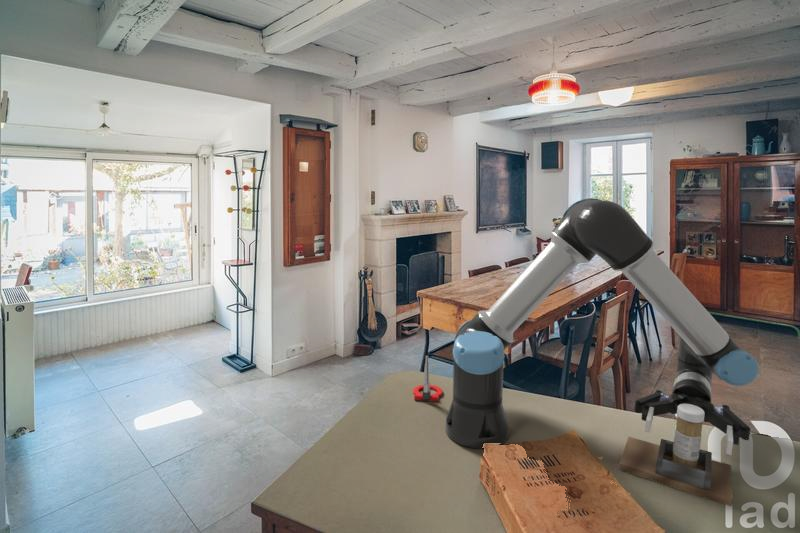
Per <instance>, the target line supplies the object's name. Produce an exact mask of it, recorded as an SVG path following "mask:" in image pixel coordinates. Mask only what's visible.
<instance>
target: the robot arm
mask: <svg viewBox="0 0 800 533" xmlns="http://www.w3.org/2000/svg"><path fill="white" fill-rule="evenodd" d="M550 238H551V239H550V242H549V243H548V244H547V245H546V246H545V247H544V248H543V250H541V251H540V253H539V254H538V255H537V256H536V257H535V258H534V260H532V262H531V263H530V264H529V265H528V266H527V267H526V268H525V269H524V270H523V271H522V272H521V273H520V275H518V277H517V278H516V279H515V280H514V281H513V282H512V283H511V285H510V286H509V287H508V288H507V289H506V290H505V291H504V292H503V294H501V296H499V297H498V299H497V300H496V301H495V302H494V303H493V304H492V305H491V307H489V308H488V309H485V310H479V311H478V312H477V313H476V314H475V315H474V316H473V317H472V319H469V320H466V321H465V322H464V323H463V324H461V325H460V327H459V328H458V330H457V332H456V334H455V337H454V342H453V348H452V357H453V369H452V370H453V374H452V376H453V378H452V381H453V382H452V383H453V385H452V387H453V388H452V389H453V390H452V401H451V403H450V406H449V410H448V413H447V415H446V417H445V433H446V435H447V436H448V437H449V438H450V439H451V440H452V441H453V442H455V443H457V444H458V445H461V446H464V447H466V448H471V449H481V450H482V447H483V444H484V443H503V444H504V443H505V442H506V441H507V440H508V439H509V436H510V435H509V434H510V433H509V432H510V424H509V421H508V417H507V415H506V412H505V409H504V404H503V393H504V392H503V388H504V385H503V384H504V361H505V355H506V354H505V351H506V349H508V347H510V345H512V344H513V342H514V332H515V331H516V330H518V328H519V327H520V326H521V325H522V324H523V323H524V322H525V321H526V320H527V319H528V318H529V317H530V315H531V314H532V313H533V312H534V311H535V310H537V308H538V307H539V306H540V305H541V304H542V303H543V302H544V301H545V300H546V299H547V297H549V295H551V293H552V292H553V291H554V290H555V289H556V288H557V287H558V286H559V285H560V284H561V283H562V282H563V280H565V279H566V278H567V277H568V275H570V273H571V272H573V270H574V269H575V268H576V267H577V266H578V265H580V264H587V263H589V262H590V261H592V259H594V257H595V256H596V255H597V256H598V257H600V258H601V259H602V260H603V261H605V263H607V264H608V265H609V266H610V268H611V269H612V270H613V271H615V272H622V274H623V275H624V276H625V277H626V278H627V279H628V280H629V282H631V283H632V285H633V286H634V287H635V288H636V289H637V290H638V291H639V293H641V295H642V296H643V297H644V298H645V300H647V301H648V302H649V304H650V305H651V306H652V307H653V309H655V310H656V312H658V313H659V314H660V316H661V317H662V318H663V319H664V320H665V321H666V322H667V324H669V325H670V327H671V328H672V329H673V330H674V331H675V332H676V333H677V334H678V335H679V345H678V355H677V361H676V370H675V376H674V377H675V378H674V381H673V388H672V393H671V394H670V395H666V394H664V393H663V391H662V390H660V389H657V390H655V392H653V393H651V394H649V395H646V396H643V397H641V398H638V399H636V400H635V401H634V402H635V403H634V412H635V414H636V413H637V414H640V413H641V417H640V418H641V420H642V421H644V422H645V428H644V432H645V433H648V434H649V433H650V431H651V428H652V424H653V420H654V418H653V417H654V416H659V415H665V414H671V415H677V407H678V405H680V404H691V405H695V406H698V407H700V408H701V409H703V410H704V412H705V415H704V421H703V423H709V424H711V425H712V426H714V427H715V428H717V429H718V430H720V431H721V432H723V433H724V434H725V448H726V449H725V452H726V455H729V456H732V453H733V446H734V445H735V446H739V444H740V439H742V440H743V441H749V440H750V436H751V427H750V426H749V425H748V424H747V423H745V421H743V420H742V419H741V418H740V417H738V416H737V415H736V414H735V413H734V412H733V411H732V410H731V408H730V406H729V405H726V404H723V405H722V406H719V407H718V406H714V404H713V403H712V383H713V382H712V381H713V374H714V375H715V376H717V378H718V379H719V380H721V381H724V382H725V383H727V384H728V385H731V386H735V387H737V386H738V387H739V386H740V387H741V386H746V385H749V384H750V383H752V382H753V381H755V379H756V378H757V377H758V375H759V371H760V366H759V363H758V361H757V359H756V358H755V357H754V356H753V355H751V354H750V352H748V351H746V350H744V349H742V348H741V347H740V346H739V345H738V344H737V342H736V341H734V339H733V338H732V337H731V336H730V335H729V334H728V332H727V331H726V330H725V329H724V328H723V326H721V324H720V323H719V322H718V321H717V320H716V319H715V317H713V315H712V314H711V313H710V312H709V310H707V309H706V308H705V307H704V306H703V305H702V303H701V302H700V301H699V300H698V299H697V297H695V295H694V294H693V293H692V292H691V291H690V290H689V288H687V286H686V285H685V284H684V283H683V282H682V281H681V280H680V278H679V277H678V276H677V275H676V274H675V273H674V272H673V270H671V268H670V267H669V266H668V265H667V264H666V263H665V262H664V260H662V258H661V257H660V255H658V254H657V253H656V252H655V250H654V249H653V248H654V241H652V239H651V238H650V237H649V236H648V235H647V233H646V232H645V231H644V229H643V228H642V227H641V226H640V225H639V224H638V222H637V221H636V220H635V219H634V217H633V216H631V214H630V213H629V212H628V211H627V210H626V209H625V208H624V207H623V206H622V205H620V204H618V203H617V202H614V201H612V200H604V199H599V198H594V197H590V198H589V197H588V198H583V199H580V200H577V201H575V202H573V203H572V204H570V205H569V207H567V208H566V209H565V211H564V213H563V215H562V217H561V220H560V221H559V223H558V224H556V225H555V227H554V228H553V229H552V231H551V232H550Z"/></svg>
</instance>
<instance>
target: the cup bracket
mask: <svg viewBox="0 0 800 533" xmlns="http://www.w3.org/2000/svg"><path fill="white" fill-rule="evenodd" d="M673 445H674V441H671V440H667V439H664V438H661V439H660V443H659V444H657V443H652V442H649V441H646V440H642V439H638V438H635V437H632V436H627V440H626V442H625V446H624V449H623V452H622V455H621V458H620V460H619V465H618V470H619V471H621V470H623V471H622V472H624V471H626V472H625V473H627V472H629V473H628V474H631V475H634V476H638V477H640V478H643V479H646V478H647V479H646V480H649V479H650V480H649V481H652V480H653V482H655V481H657V482H656V483H658V482H660V483H659V484H662V483H663V484H662V485H665V484H666V485H665V486H668V487H671V486H672V487H671V488H675V489H677V490H681V491H684V492H687V493H689V494H693V495H696V496H700V497H702V498H704V499H709V500H711V501H715V502H718V503H719V504H720V503H721V504H724V505H727V506H730V507H732V505H733V483H732V466H731V464H727V463H724V462H721V461H717V460H714V459H712V455H713V452H712V451H709V450H708V451H707V450H705V449H701V448H700V451H699V458H698V461H697V469H696V468H692V467H689V466H685V465H682V464H679V463H675V462H672V458H673Z"/></svg>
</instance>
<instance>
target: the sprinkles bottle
mask: <svg viewBox="0 0 800 533" xmlns="http://www.w3.org/2000/svg"><path fill="white" fill-rule="evenodd" d="M704 415H705V412H704V410H703V409H701V408H700V407H698V406H695V405H691V404H680V405H678V407H677V414H676V417H677V418H676V426H675V431H674V432H675V433H674V438H673V439H674V440H673V442H674V445H673V458H672V462H675V463H679V464H682V465H685V466H689V467H692V468H696V469H697V461H698V458H699V451H700V449H701V442H702V441H701V440H702V429H703V423H704Z"/></svg>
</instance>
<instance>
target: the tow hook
mask: <svg viewBox="0 0 800 533" xmlns="http://www.w3.org/2000/svg"><path fill="white" fill-rule="evenodd" d="M430 383H431V382H430V363H429V355H425V363H424V382H423V384H420V385H417V386H416V387H414V388H413V390H412V394H413V395H414V400H415V401H423V402H439V398H440V397H441V396H442V395H443V389H442V388H441V386H440V387H439V386H437V385H433V384H430ZM431 390H433V391H435V393H432V394H431ZM420 391H422V393H421V392H420Z"/></svg>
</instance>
